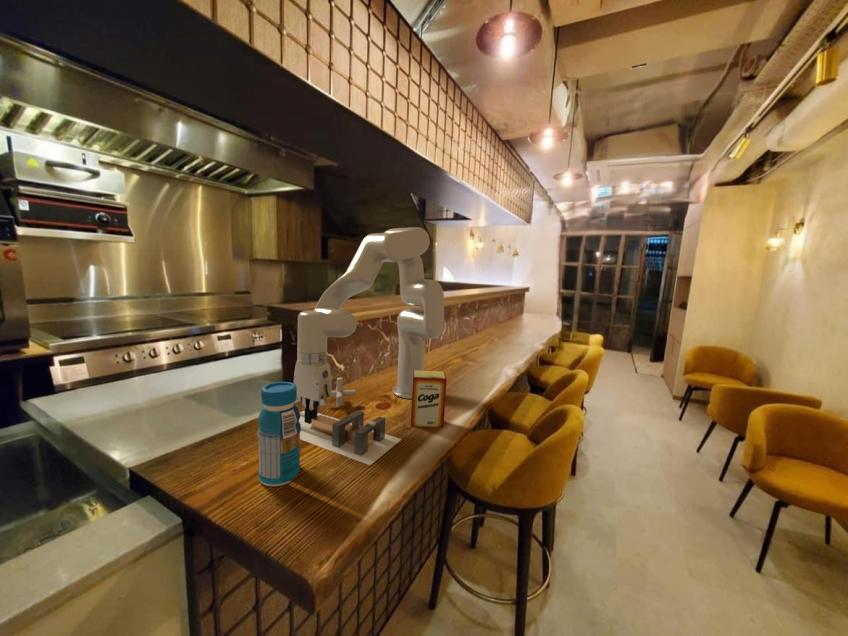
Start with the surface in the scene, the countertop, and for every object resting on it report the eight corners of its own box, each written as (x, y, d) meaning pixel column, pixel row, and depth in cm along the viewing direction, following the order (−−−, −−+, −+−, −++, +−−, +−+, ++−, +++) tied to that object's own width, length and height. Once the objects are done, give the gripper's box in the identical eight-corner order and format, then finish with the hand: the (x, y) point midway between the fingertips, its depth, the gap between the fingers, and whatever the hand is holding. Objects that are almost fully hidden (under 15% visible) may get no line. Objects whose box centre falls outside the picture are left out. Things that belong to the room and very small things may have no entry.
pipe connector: (322, 415, 102) (323, 384, 100) (323, 402, 111) (323, 373, 110) (356, 413, 104) (356, 382, 103) (353, 401, 114) (354, 373, 113)
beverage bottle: (253, 490, 67) (251, 394, 64) (263, 466, 75) (261, 380, 72) (298, 486, 69) (298, 393, 66) (302, 463, 77) (303, 379, 74)
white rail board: (306, 412, 103) (306, 407, 103) (401, 442, 88) (401, 436, 88) (267, 430, 91) (267, 424, 91) (370, 469, 76) (370, 462, 76)
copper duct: (311, 430, 90) (311, 418, 90) (320, 425, 93) (320, 414, 93) (365, 449, 82) (365, 436, 82) (373, 443, 85) (373, 431, 85)
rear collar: (357, 429, 92) (357, 410, 91) (363, 431, 91) (363, 411, 91) (332, 445, 83) (332, 424, 83) (338, 447, 82) (338, 426, 82)
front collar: (378, 436, 89) (379, 414, 88) (384, 438, 88) (385, 416, 87) (354, 453, 80) (355, 429, 79) (361, 455, 79) (362, 431, 79)
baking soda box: (410, 429, 96) (413, 375, 94) (410, 419, 103) (413, 369, 100) (443, 430, 96) (446, 377, 94) (441, 420, 103) (444, 370, 101)
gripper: (343, 358, 90) (341, 423, 92) (302, 350, 97) (302, 410, 99) (322, 364, 83) (321, 434, 86) (281, 355, 90) (280, 419, 92)
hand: (311, 421), depth 92 cm, fingers closed
